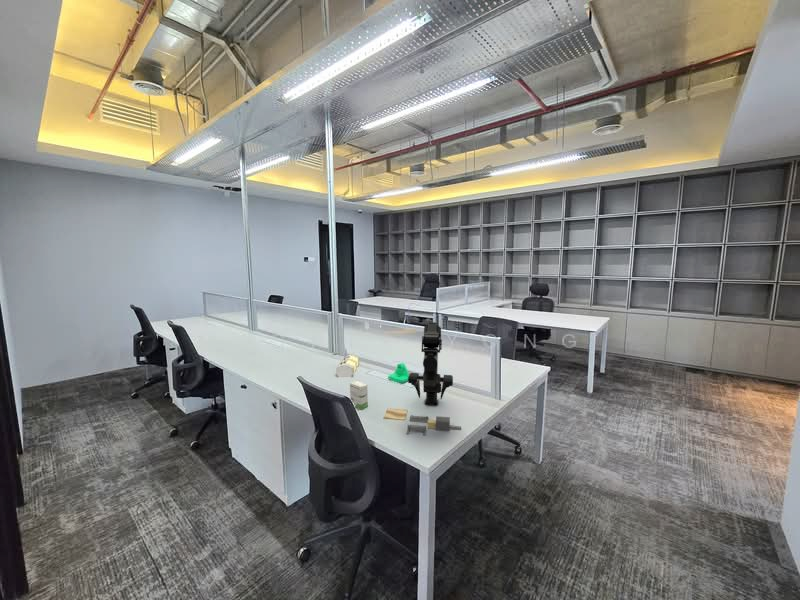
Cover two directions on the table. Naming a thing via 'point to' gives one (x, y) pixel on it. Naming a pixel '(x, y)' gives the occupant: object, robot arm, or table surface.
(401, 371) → the camera mount
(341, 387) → the table surface
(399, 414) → the pad
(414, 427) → the pair of grey brackets
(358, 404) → the ink box
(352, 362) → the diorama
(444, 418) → the plug
